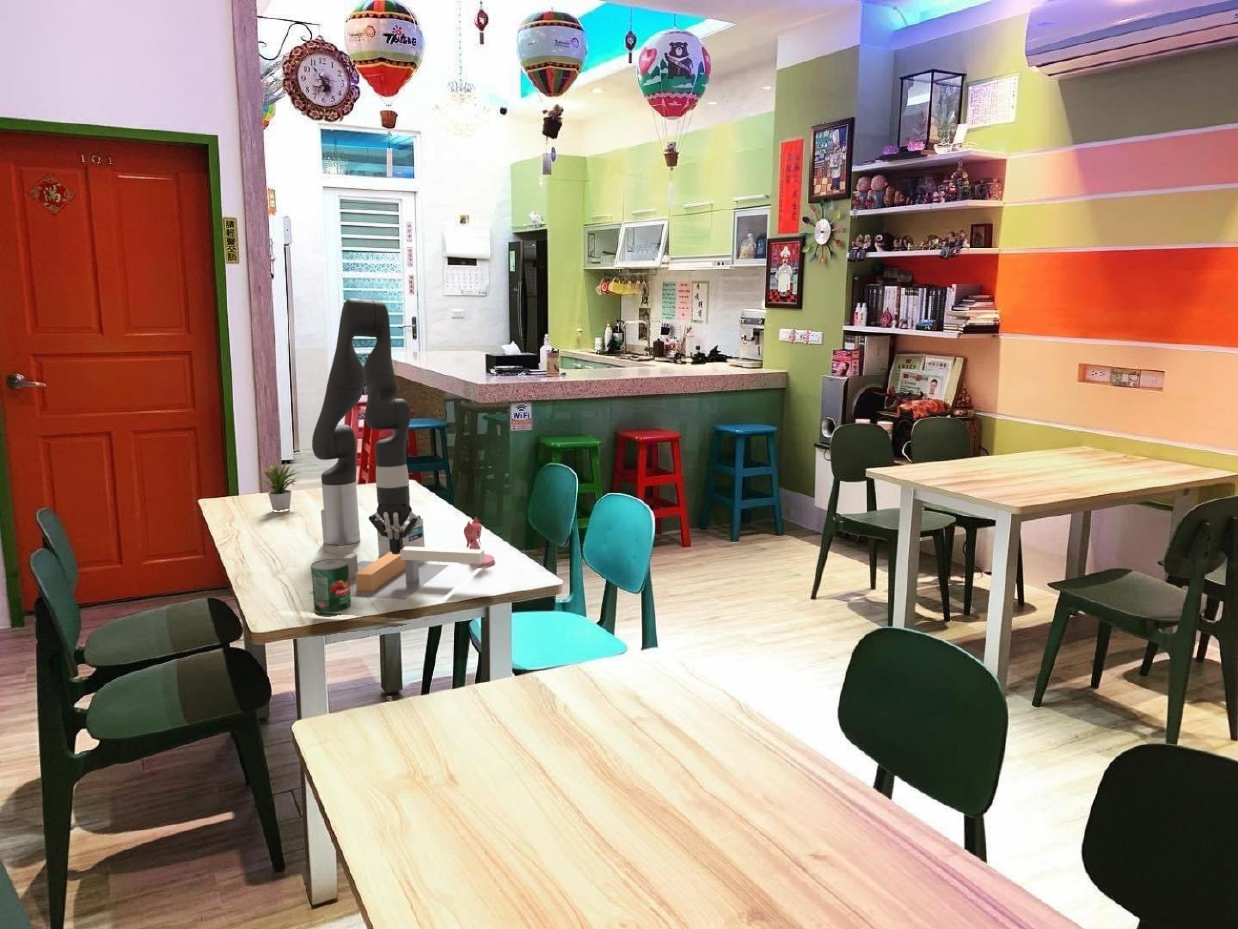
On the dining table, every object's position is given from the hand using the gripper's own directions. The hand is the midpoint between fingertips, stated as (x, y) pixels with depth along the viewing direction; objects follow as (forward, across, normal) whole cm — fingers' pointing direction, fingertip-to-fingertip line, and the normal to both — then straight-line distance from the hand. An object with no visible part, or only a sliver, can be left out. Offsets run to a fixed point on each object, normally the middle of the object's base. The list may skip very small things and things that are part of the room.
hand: (397, 553), depth 215 cm
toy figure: (+8, +12, +19) cm, 24 cm away
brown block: (+7, -4, 0) cm, 8 cm away
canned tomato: (+8, -6, -20) cm, 22 cm away
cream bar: (+1, +12, 0) cm, 12 cm away
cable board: (+8, -4, 0) cm, 9 cm away
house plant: (+8, -71, +63) cm, 95 cm away
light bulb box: (+8, -9, +20) cm, 23 cm away
